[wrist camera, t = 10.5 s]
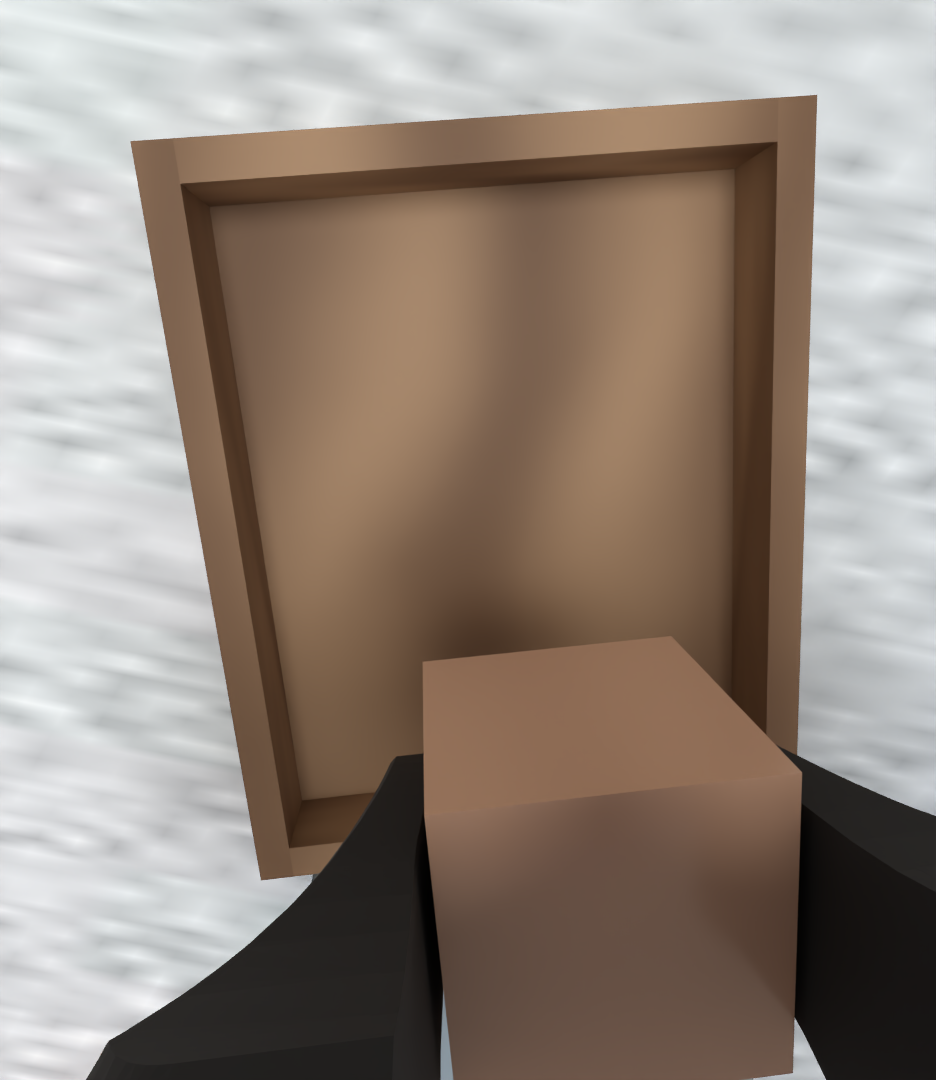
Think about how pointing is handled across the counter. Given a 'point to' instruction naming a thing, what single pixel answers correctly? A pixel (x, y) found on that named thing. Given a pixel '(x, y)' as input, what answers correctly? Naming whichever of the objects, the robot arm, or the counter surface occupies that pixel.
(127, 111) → the counter surface
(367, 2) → the counter surface
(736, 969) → the russet cube
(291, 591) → the walnut bin
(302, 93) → the counter surface
